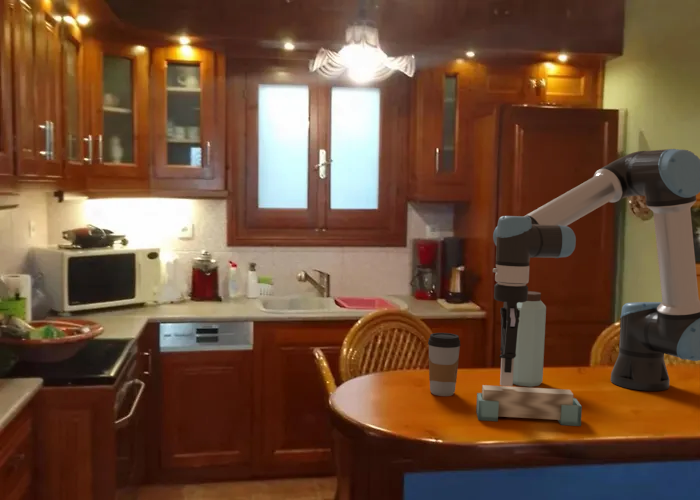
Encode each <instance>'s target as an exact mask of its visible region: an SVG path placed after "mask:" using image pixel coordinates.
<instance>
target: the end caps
mask: <svg viewBox="0 0 700 500" xmlns="http://www.w3.org/2000/svg"><path fill="white" fill-rule="evenodd" d="M475 406H476V408H475V409H476V410H475V413H476V416H477V420H478V421H485V422H499V416H498V408H499V401H488V400H482V392H476V405H475ZM582 410H583V407H582V405H581V404H580V401H578V399H577V398H575V397H573V405H561V420H557V421H558V423H559V424H560V426H575V427H581V426H582V414H583V413H582V412H583V411H582Z"/></svg>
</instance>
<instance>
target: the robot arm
mask: <svg viewBox="0 0 700 500" xmlns="http://www.w3.org/2000/svg"><path fill="white" fill-rule="evenodd" d="M698 194H700V158H699V157H698V155H696V154H695V153H694V152H692V151H691V150H687V149H676V148H667V149H656V150H638V151H635V152H632V153H629V154H626V155H624V156H622V157H620V158H617V159H616V160H613V161H612V162H610V163H608V164H606V165H605V166H603V167H601V168H600V169H598V170H596V171H595V172H594V174H593V176H592V177H591V178H588V180H586V181H584V182H583V183H581V184H579V185H577V186H575V187H573V188H572V189H570V190H568V191H566V192H565V193H563V194H560V195H559V196H558V197H556V198H553V199H552V200H550V201H548V202H547V203H545V204H543V205H542V206H540V207H537V209H534V210H533V211H531V212H529V213H527V214H526V215H524V216H520V215H518V216H517V215H502V216H500V217H499V218H498V221H497V226H496V227H495V228H494V231H493V235H492V239H493V243H494V245H495V247H496V249H495V268H492V273H495V275H494V281H495V282H496V283H495V284H494V286H493V287H494V290H493V299H494V300H495V301H497V302H501V303H503V305H502V306H503V307H500V309H499V310H500V311H499V313H500V325H501V327H500V328H501V330H500V349H499V350H500V354H499V359H500V373H499V374H500V377H499V379H500V380H499V386H508V387H514V384H513V369H514V358H515V356H516V343H517V331H518V323H519V317H520V310H518V308H517V303H518V302H520V303H522V302H526V301H527V299H528V291H529V287H528V285H527V284H528V283H530V282H529V280H530V261H531V258H532V259H533V258H543V259H545V258H548V259H549V258H554V259H559V258H567V257H569V256H571V255H572V254H573V252H574V251H575V249H576V245H577V244H576V243H577V242H576V241H577V238H576V234H575V232H574V230H573V229H572V228H571V227H569V225H571V224H572V223H574V222H576V221H577V220H580V218H583V217H585V216H586V215H589V214H590V213H592V212H593V211H595V210H596V209H598V208H600V207H602V206H604V205H605V204H607V203H616V202H619V201H620V200H623V199H625V198H628V197H629V198H630V197H637V196H638V197H639V196H641V197H644V198H645V206H646V207H647V208H648V209H649V210H650V211H652V212H653V222H654V223H653V225H654V233H655V243H656V253H657V262H658V263H657V264H658V273H659V283H660V291H661V293H660V294H661V301H635V302H634V301H633V302H626V303H624V305H622V307H621V314H620V320H619V322H620V323H619V345H618V346H619V348H618V356H617V358H616V361H615V363H614V366H613V368H612V370H611V372H610V373H611V374H610V382H611V383H612V384H614V385H616V386H619V387H621V388H624V389H630V390H637V391H646V392H660V391H661V392H662V391H666V390H668V389H669V388H670V376H669V374H668V369H667V365H666V362H665V355H668V356H672V357H676V358H679V359H681V360H684V361H685V360H688V361H694V362H698V361H700V297H699V289H698V279H697V267H696V266H697V265H696V256H695V246H694V245H695V244H694V234H693V224H692V223H693V222H692V213H691V208H692V206H693V205H694V204H695V203H696V202H697V195H698Z"/></svg>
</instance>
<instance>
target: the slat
mask: <svg viewBox="0 0 700 500" xmlns="http://www.w3.org/2000/svg"><path fill="white" fill-rule="evenodd" d="M481 393H482V400H488V401H499V408H498V417H505V418H522V419H538V420H539V419H542V420H557V421H558V420H561V405H573V398H574V393H573V392H572V390H571V389H563V388H562V389H561V388H543V387H528V386H501V385H489V384H488V385H487V384H485V385H484V384H482V387H481Z"/></svg>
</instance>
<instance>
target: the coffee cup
mask: <svg viewBox="0 0 700 500" xmlns="http://www.w3.org/2000/svg"><path fill="white" fill-rule="evenodd" d="M427 344H428V375H429V376H428V377H429V391H430V392H431V394H432V395H435V396H440V397H450V396H453V395H454V394H455V392H456V386H457V385H456V384H457V379H458V378H457V377H458V369H459V362H460V361H459V359H460V358H459V356H460V347H461V340H460V337H459V335H458V334H454V333H451V332H450V333H448V332H433V333H431V334H429V338H428V343H427Z"/></svg>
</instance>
